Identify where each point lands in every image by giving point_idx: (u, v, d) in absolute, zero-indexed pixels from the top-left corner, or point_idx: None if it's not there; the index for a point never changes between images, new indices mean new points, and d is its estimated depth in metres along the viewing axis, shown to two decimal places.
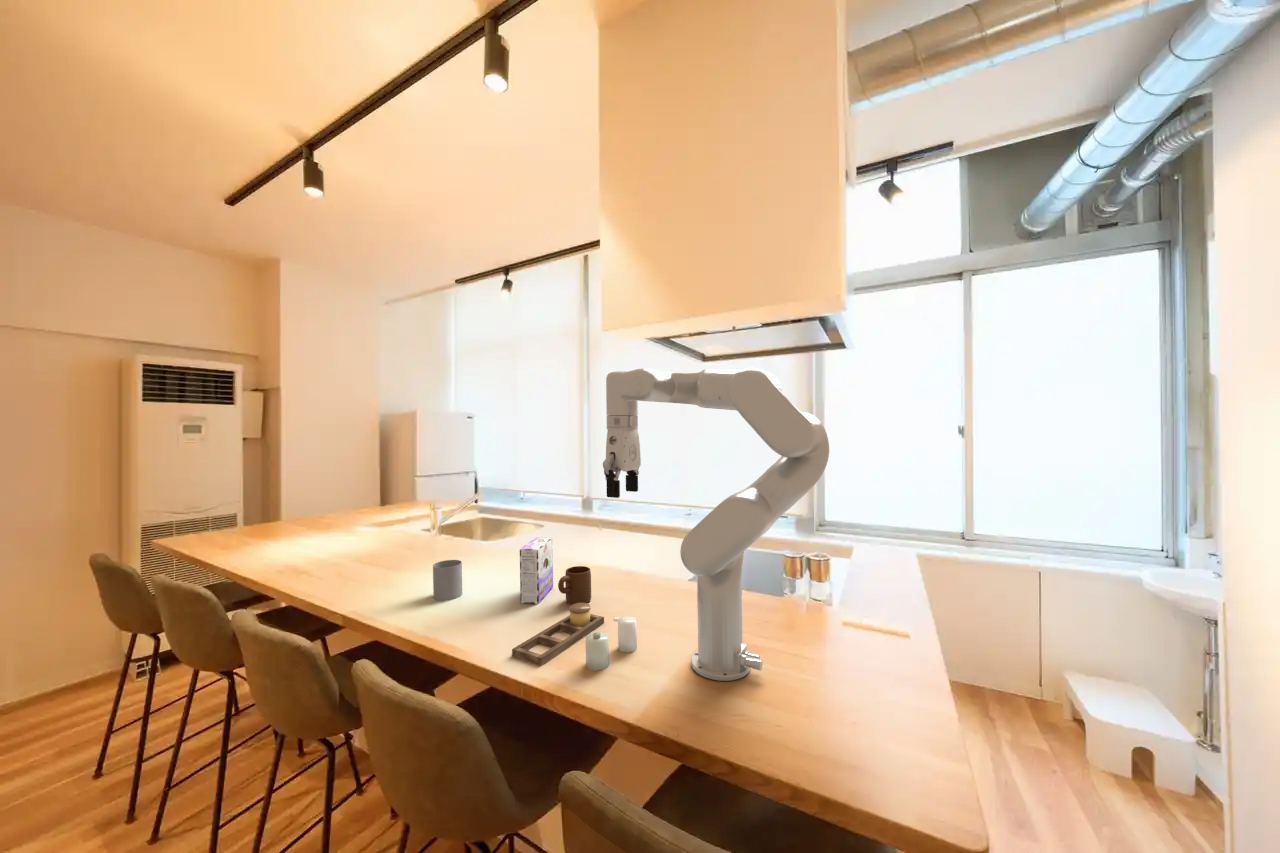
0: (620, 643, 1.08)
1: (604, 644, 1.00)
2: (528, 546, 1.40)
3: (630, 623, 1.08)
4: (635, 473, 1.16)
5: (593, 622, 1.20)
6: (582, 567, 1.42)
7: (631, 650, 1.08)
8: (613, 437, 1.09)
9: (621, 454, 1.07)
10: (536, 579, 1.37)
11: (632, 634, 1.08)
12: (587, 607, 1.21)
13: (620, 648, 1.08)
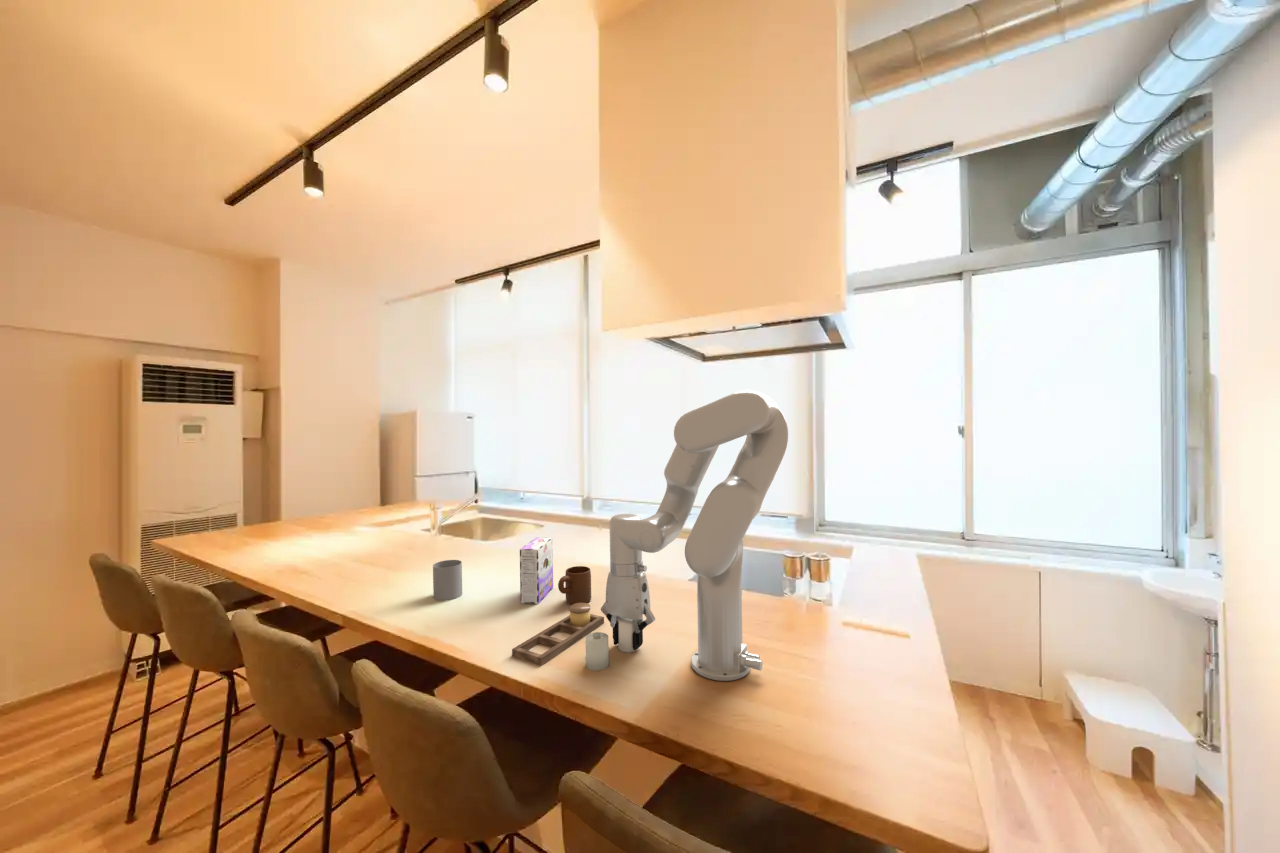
0: (620, 643, 1.08)
1: (604, 644, 1.00)
2: (528, 546, 1.40)
3: (631, 623, 1.08)
4: None
5: (593, 622, 1.20)
6: (582, 567, 1.42)
7: (631, 650, 1.08)
8: None
9: (649, 598, 1.09)
10: (536, 579, 1.37)
11: None
12: (587, 607, 1.21)
13: (620, 648, 1.08)
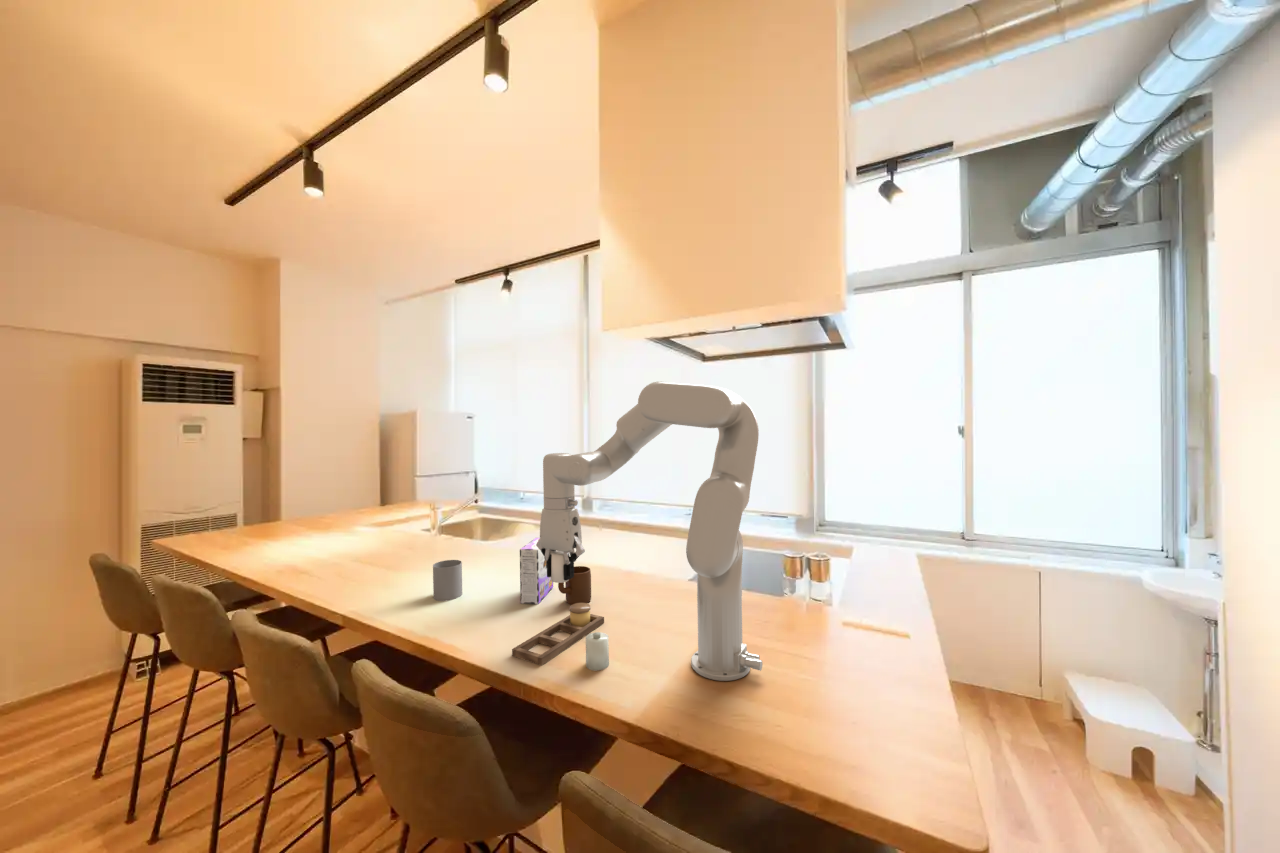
0: (552, 574, 1.13)
1: (604, 644, 1.00)
2: (528, 546, 1.40)
3: (562, 555, 1.13)
4: None
5: (593, 622, 1.20)
6: (582, 567, 1.42)
7: (562, 581, 1.13)
8: None
9: (580, 532, 1.14)
10: (536, 579, 1.37)
11: None
12: (587, 607, 1.21)
13: (552, 579, 1.13)
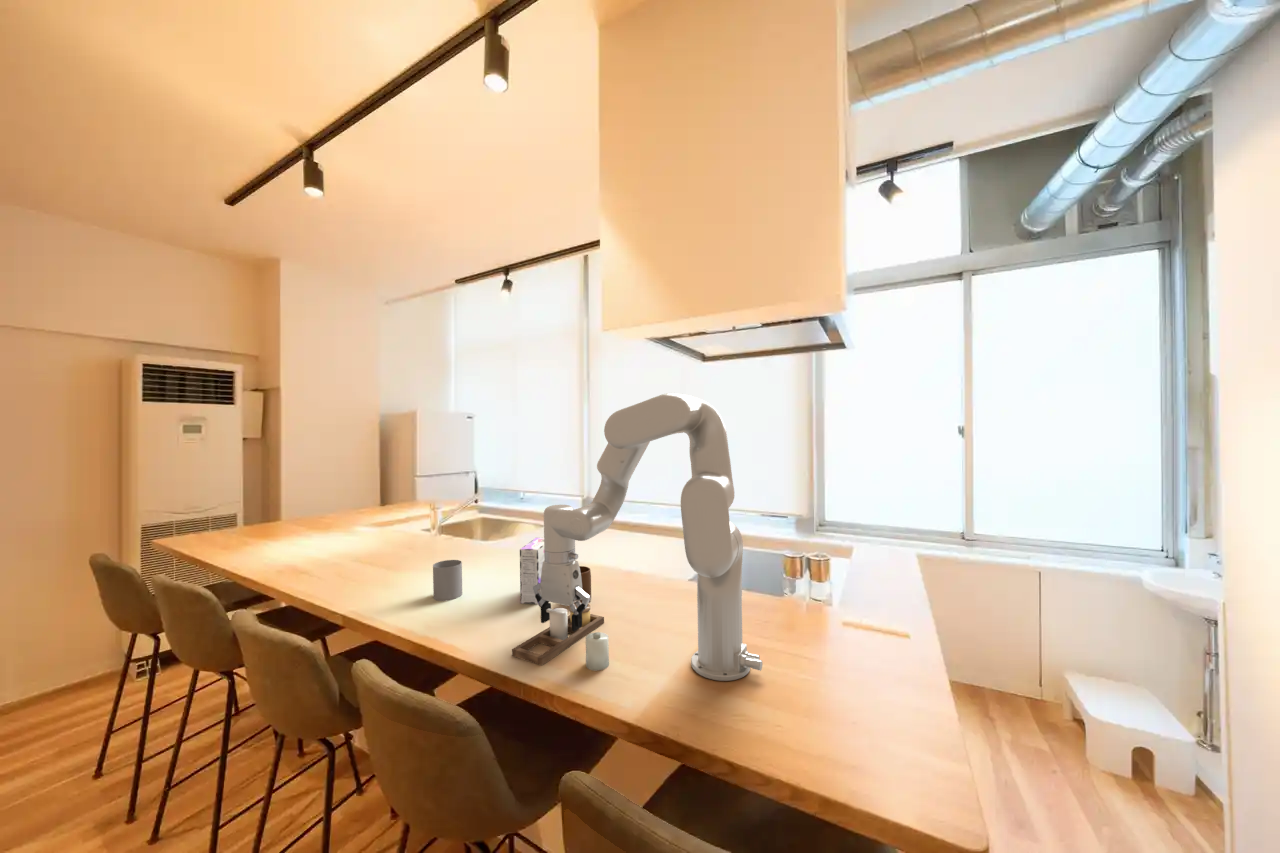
0: (551, 633, 1.14)
1: (604, 644, 1.00)
2: (528, 546, 1.40)
3: (560, 614, 1.14)
4: (548, 601, 1.18)
5: (593, 622, 1.20)
6: (582, 567, 1.42)
7: (561, 639, 1.13)
8: None
9: (581, 584, 1.14)
10: (536, 579, 1.37)
11: (562, 624, 1.14)
12: (587, 607, 1.21)
13: None
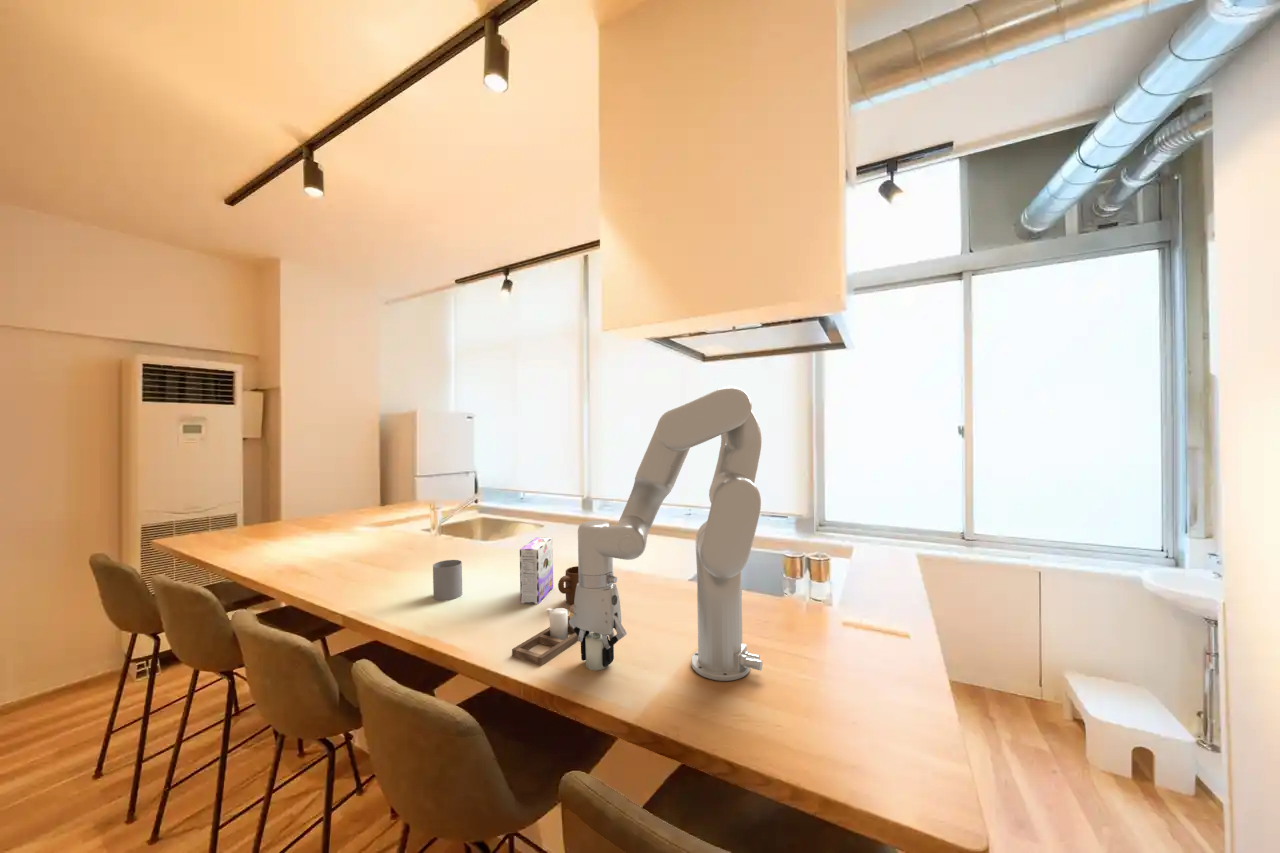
0: (551, 633, 1.14)
1: None
2: (528, 546, 1.40)
3: (560, 614, 1.14)
4: None
5: None
6: None
7: (561, 639, 1.13)
8: None
9: (620, 611, 1.02)
10: (536, 579, 1.37)
11: (562, 624, 1.13)
12: None
13: None
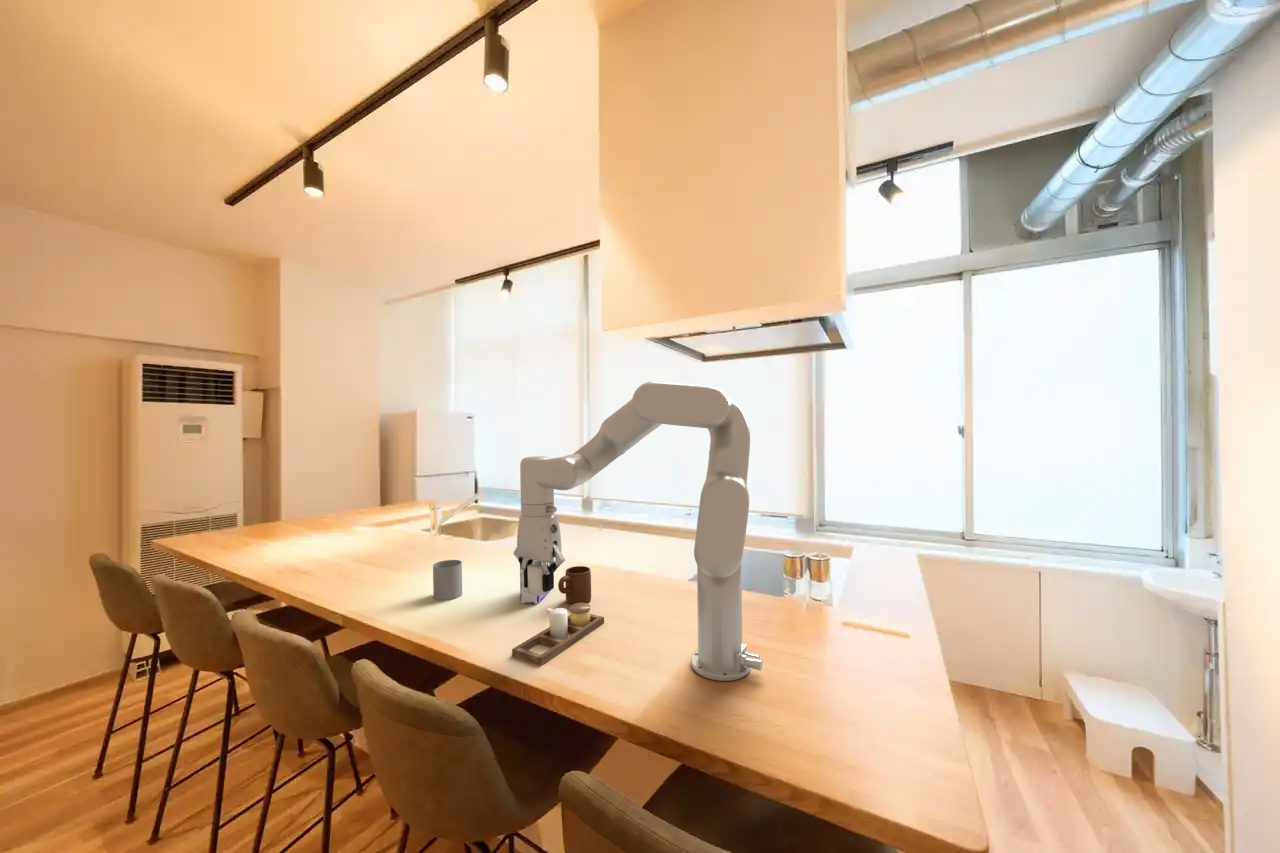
0: (551, 633, 1.14)
1: None
2: None
3: (560, 614, 1.14)
4: None
5: (593, 622, 1.20)
6: (582, 567, 1.42)
7: (561, 639, 1.13)
8: None
9: (560, 540, 1.07)
10: None
11: (562, 624, 1.13)
12: (587, 607, 1.21)
13: None
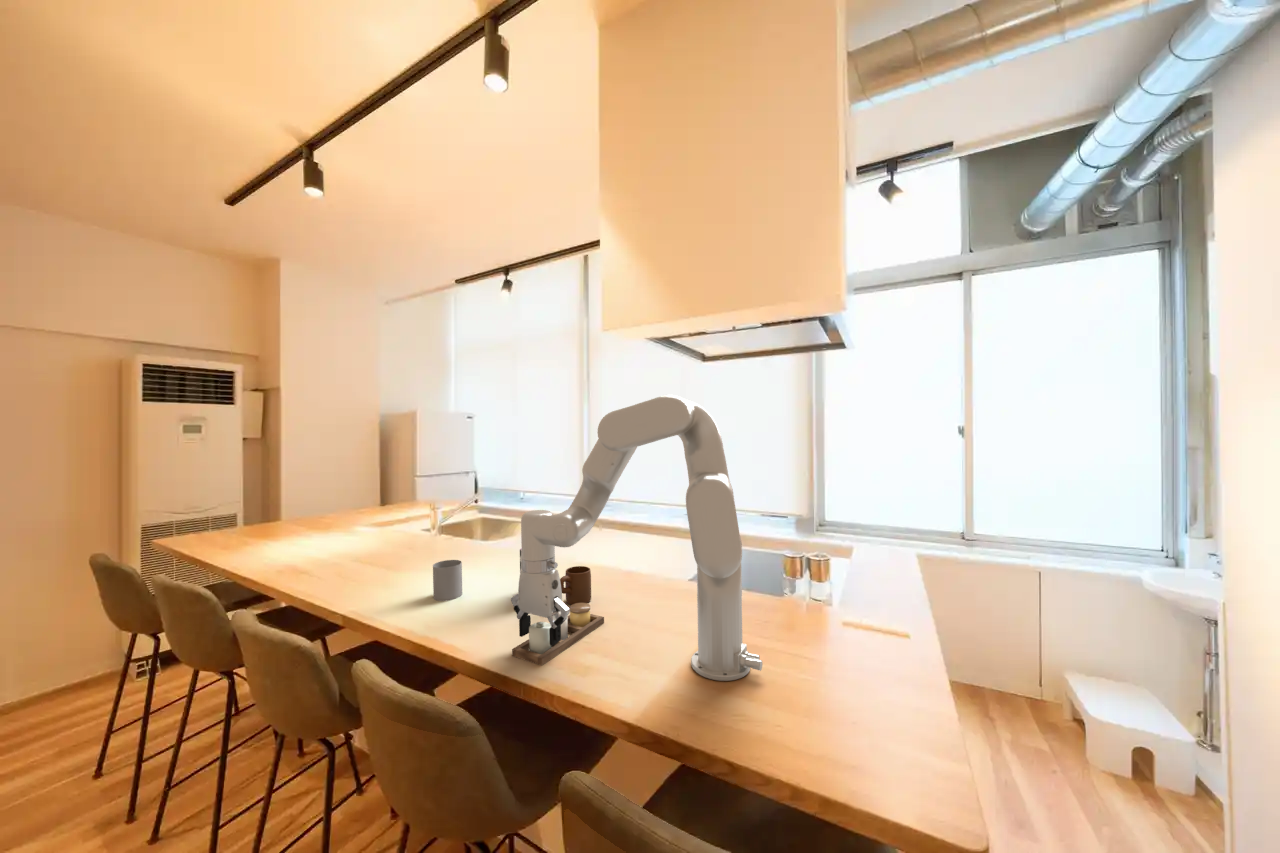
0: None
1: (545, 632, 1.06)
2: None
3: None
4: (528, 613, 1.11)
5: (593, 622, 1.20)
6: (582, 567, 1.42)
7: (561, 639, 1.13)
8: None
9: (561, 595, 1.08)
10: None
11: (562, 624, 1.13)
12: (587, 607, 1.21)
13: None
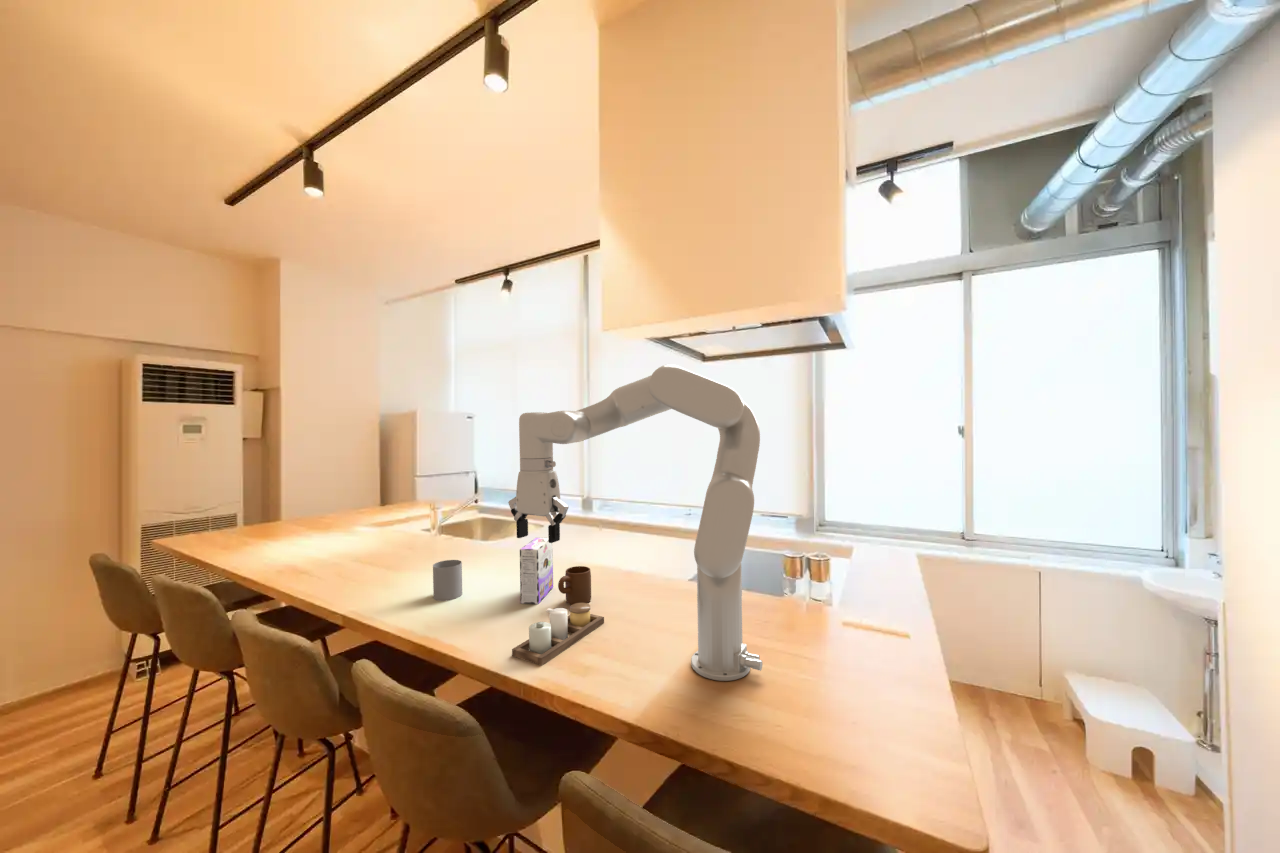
0: (551, 633, 1.14)
1: (545, 632, 1.06)
2: (528, 546, 1.40)
3: (560, 614, 1.14)
4: (525, 517, 1.11)
5: (593, 622, 1.20)
6: (582, 567, 1.42)
7: (561, 639, 1.13)
8: None
9: (559, 496, 1.07)
10: (536, 579, 1.37)
11: (562, 624, 1.13)
12: (587, 607, 1.21)
13: None
